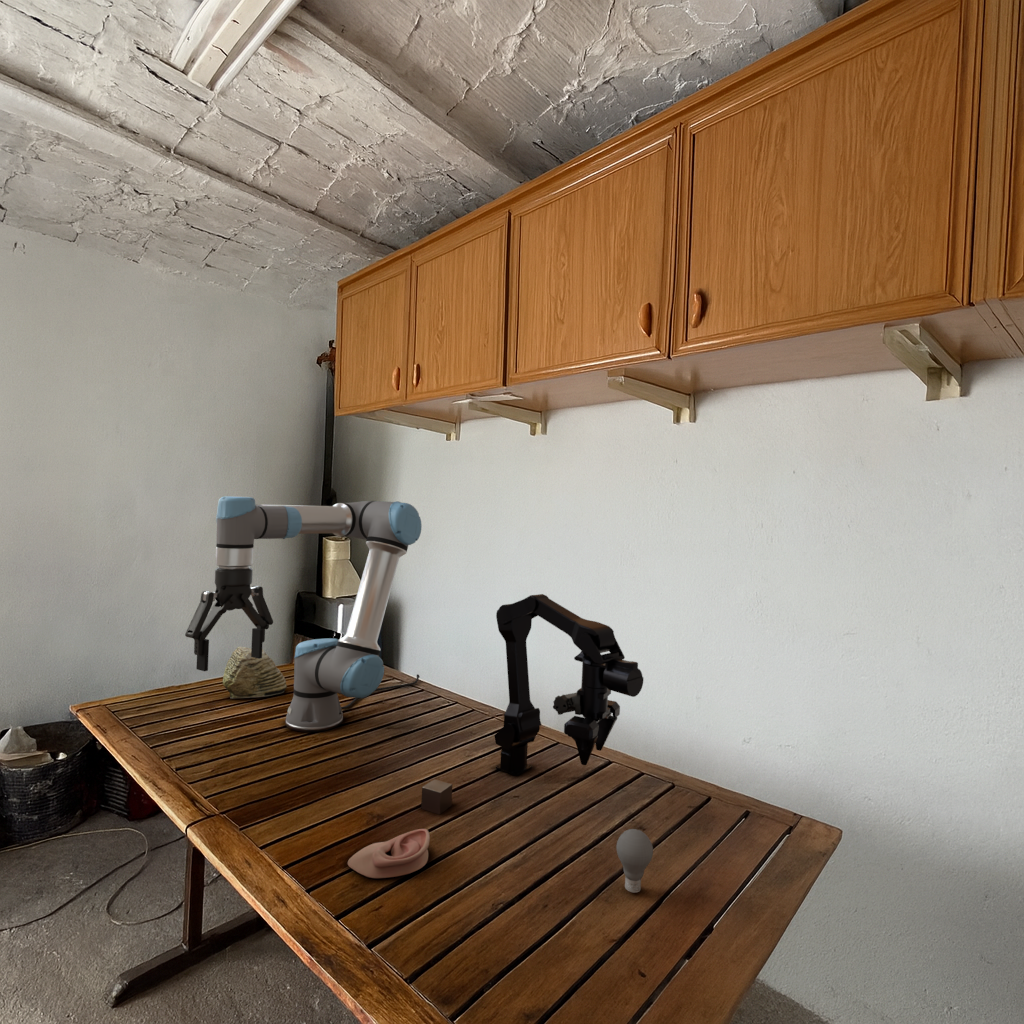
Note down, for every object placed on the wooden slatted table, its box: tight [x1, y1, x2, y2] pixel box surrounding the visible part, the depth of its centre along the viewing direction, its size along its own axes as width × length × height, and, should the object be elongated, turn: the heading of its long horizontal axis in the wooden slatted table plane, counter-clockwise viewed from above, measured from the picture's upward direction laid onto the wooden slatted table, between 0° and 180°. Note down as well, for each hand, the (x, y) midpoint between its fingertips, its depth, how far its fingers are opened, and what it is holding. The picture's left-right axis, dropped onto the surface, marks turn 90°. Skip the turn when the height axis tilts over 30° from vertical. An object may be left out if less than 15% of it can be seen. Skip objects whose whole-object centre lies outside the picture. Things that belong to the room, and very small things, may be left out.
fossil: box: [222, 646, 288, 699], centre depth 198 cm, size 9×18×15 cm, turn 132°
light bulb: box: [615, 828, 654, 894], centre depth 106 cm, size 6×6×10 cm
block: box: [420, 778, 453, 815], centre depth 131 cm, size 4×5×4 cm
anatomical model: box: [347, 828, 431, 879], centre depth 111 cm, size 13×4×12 cm
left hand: (230, 663), depth 139 cm, fingers open, 13 cm apart
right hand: (591, 757), depth 135 cm, fingers open, 9 cm apart
